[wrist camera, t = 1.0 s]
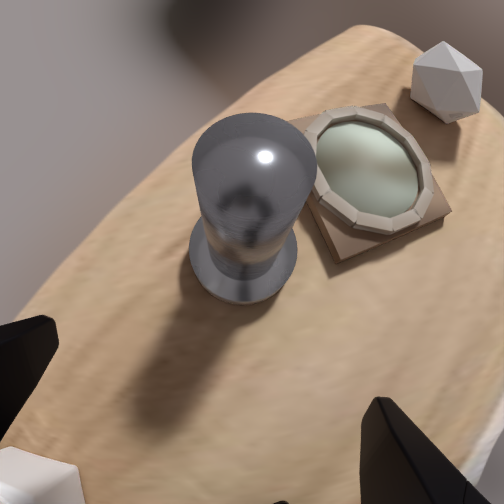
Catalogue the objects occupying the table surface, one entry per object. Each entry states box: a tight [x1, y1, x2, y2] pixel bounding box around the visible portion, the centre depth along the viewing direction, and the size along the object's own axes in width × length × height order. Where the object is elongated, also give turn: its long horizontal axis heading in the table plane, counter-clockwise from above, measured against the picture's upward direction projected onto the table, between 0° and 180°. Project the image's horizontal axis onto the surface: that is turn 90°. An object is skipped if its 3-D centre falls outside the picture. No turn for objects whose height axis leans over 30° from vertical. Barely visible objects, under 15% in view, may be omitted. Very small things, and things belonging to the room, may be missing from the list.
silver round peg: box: [189, 113, 317, 305], centre depth 17 cm, size 7×7×12 cm
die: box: [410, 41, 483, 124], centre depth 25 cm, size 8×9×10 cm
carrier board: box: [287, 103, 452, 264], centre depth 24 cm, size 12×12×2 cm
